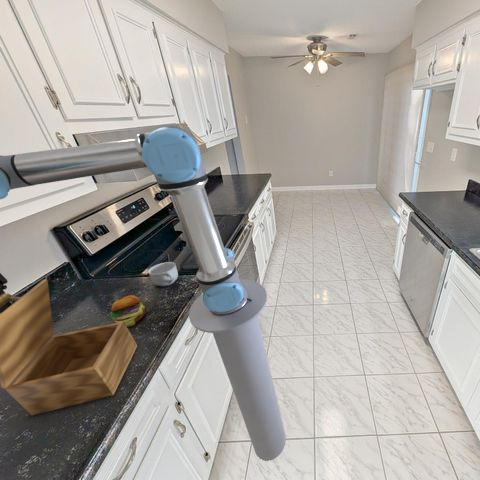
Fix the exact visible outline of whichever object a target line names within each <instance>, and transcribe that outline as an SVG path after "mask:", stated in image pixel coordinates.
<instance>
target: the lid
mask: <svg viewBox="0 0 480 480" xmlns="http://www.w3.org/2000/svg"><path fill="white" fill-rule="evenodd" d="M48 281H49V280H48V279H46V278H44V279H42V280H41V281H40V282H38V283H37V284H36V285H34V286H33V287H32V288H31V289H29V290H28V291H27V292H26V293H25V294H23V295H22V296H12V294H10V293H8V292H5V293H3V294H1V295H0V308H1V307H2V306H4V305H5V304H6V303H7V302H9V301H10V302H11V301H15V302H13V303H11V304H12V305H11V306H10V307H8V308H7V309H6V310H5V311H4V312H2V313H0V387H1V389H6V388H7V387H8V386H9V385H10V384H11V382H12V381H13V380H14V379H15V378H16V377H17V376H18V375H19V373H20V372H21V371H22V370H23V369H24V368H25V367H26V366H27V364H28V363H29V362H30V361H31V360H32V359H33V358H34V357H35V355H36V354H37V353H38V352H39V351H40V350H41V349H42V348H43V346H44V345H45V344H46V343H47V342H48V341H49V340H50V339H51V337H52V336H54V335H55V333H54V326H53V316H52V315H53V314H52V307H51V299H50V290H49V289H50V287H49V282H48Z"/></svg>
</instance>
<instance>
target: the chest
mask: <svg viewBox="0 0 480 480" xmlns="http://www.w3.org/2000/svg"><path fill="white" fill-rule="evenodd" d="M137 348H138V344H137V342H136V340H135V339H134V337H133V335H132V334H131V332H130V330H129V327H127V326H126V325H125V323H124V321H123V322H118V323H116V322H114V323H108V324H104V325H99V326H93V327H88V328H84V329H79V330H75V331H69V332H65V333H64V332H63V333H60V334H54V335H53V336H52V337H51V338H50V339H49V340H48V342H47V343H46V344H45V345H44V346H43V347H42V348H41V349H40V351H39V352H38V353H37V354H36V355H35V356H34V357H33V358H32V360H31V361H30V362H29V363H28V364H27V365H26V366H25V367H24V369H23V370H22V371H21V372H20V373H19V374H18V375H17V376H16V378H15V379H14V380H13V381H12V382H11V383H10V384H9V385H8V387H7V388H4V389H5V391H6V392H7V393H8V394H9V395H10V396H11V397H12V398H13V399H14V400H15V401H16V402H17V403H18V404H19V405H21V407H22V408H23V409H25V410H26V411H27V413H29V414H30V415H31V416H35V415H39V414H44V413H48V412H51V411H56V410H60V409H65V408H68V407H71V406H72V407H73V406H76V405H79V404H84V403H88V402H91V401H95V400H99V399H105V398H107V397H111V396H114V395H115V393H116V391H117V389H118V387H119V385H120V383H121V382H122V379H123V377H124V375H125V373H126V370H127V369H128V367H129V364H130V362H131V360H132V358H133V356H134V354H135V352H136V350H137Z"/></svg>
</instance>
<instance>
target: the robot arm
mask: <svg viewBox="0 0 480 480" xmlns="http://www.w3.org/2000/svg"><path fill="white" fill-rule="evenodd" d="M144 168H147V169H148V170H149V172H151V174H153V176H154V178H155V180H156V183H157V185H158V187H159V190H160V191H162V192H164V193H166V194H168V195H169V197H170V200H171V202H172V205H173V207H174V209H175V212H176V215H177V217H178V220H179V222H180V225H181V228H182V230H183V232H184V235H185V237H186V240H187V242H188V245H189V247H190V249H191V252H192V254H193V257H194V260H195V262H196V265H197V267H198V269H197V272H196V273H195V277H196V280H197V282H198V284H199V287H200V289H201V292H202V294H203V302H204V304H205V306H206V307H207V308H208V309H209V310H210V312H211V313H213V314H215V315H219V316H224V315H230V314H233V313H235V312H237V311H239V310H241V309H242V308H243V307H244V306H245V305H246V304H247V302H248V300H249V301H251V299H249V296H248V293H247V291H246V289H245V288H244V286H243V285H242V284H241V282H240V280H241V279H240V275H239V272H238V268H237V264H236V261H235V257H234V256H235V255H234V253H233V250H232V249H230V248H227V247H225V246H224V243H223V240H222V237H221V235H220V234H221V233H220V231H219V228H218V224H217V222H216V219H215V216H214V213H213V210H212V206H211V204H210V200H209V197H208V194H207V191H206V188H205V186H206V184H207V183H208V181H209V178H208V175H207V172H206V168H205V165H204V162H203V159H202V155H201V151H200V147H199V145H198V142H197V140H196V138H195V137H194V136H193V135H192V134H191V133H190V132H188V131H187V130H186V129H184V128H181V127H177V126H171V125H169V126H163V127H159V128H155V129H153V130H152V131H150V132H144V133H143V132H142V133H138V134H137V135H136V137H135V138H129V139H123V140H114V141H107V142H99V143H93V144H85V145H75V146H70V147H69V146H68V147H60V148H54V149H46V150H39V151H31V152H24V153H17V154H8V155H0V200H4V199H6V198H7V197H8V196H9V192H10V191H11V190H14V189H20V188H21V189H22V188H26V187H32V186H33V187H34V186H37V185H44V184H49V183H56V182H62V181H68V180H74V179H80V178H81V179H82V178H87V177H94V176H100V175H106V174H113V173H119V172H125V171H131V170H137V169H138V170H139V169H144ZM6 284H8V279H7V278H6V277H5V276H4V275H3V274H2V273H1V272H0V295H1V294H3V293H6V292H5V291H4V290H7V288H8V286H7V285H6ZM12 304H13V303H12V302H11V300H10V301H9V302H7V303H6V304H5V305H4V306H2V307H1V308H0V313H2V312H4V311H5V310H6V309H7V308H8V307H10V306H11V305H12Z"/></svg>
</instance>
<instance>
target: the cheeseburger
mask: <svg viewBox="0 0 480 480" xmlns="http://www.w3.org/2000/svg"><path fill="white" fill-rule="evenodd" d="M141 301H142V298H141V299H140V298H139V297H138V296H137V295H132V294H130V295H127V296H123V297H122V298H120V299H118V300H116V301H114V302H113V303H112V306H111V313H110V314H109V318H111V319H112V320H113V321H114V323H118V322H123V321H124V323H125V325H126V326H127V328H131V327H134V326H135V325H136V323H137V322H138V321H140V320H142V319H143V317H144V316H145V315H146V310H145V308H146V307H145V305H143V303H142V302H141Z"/></svg>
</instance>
